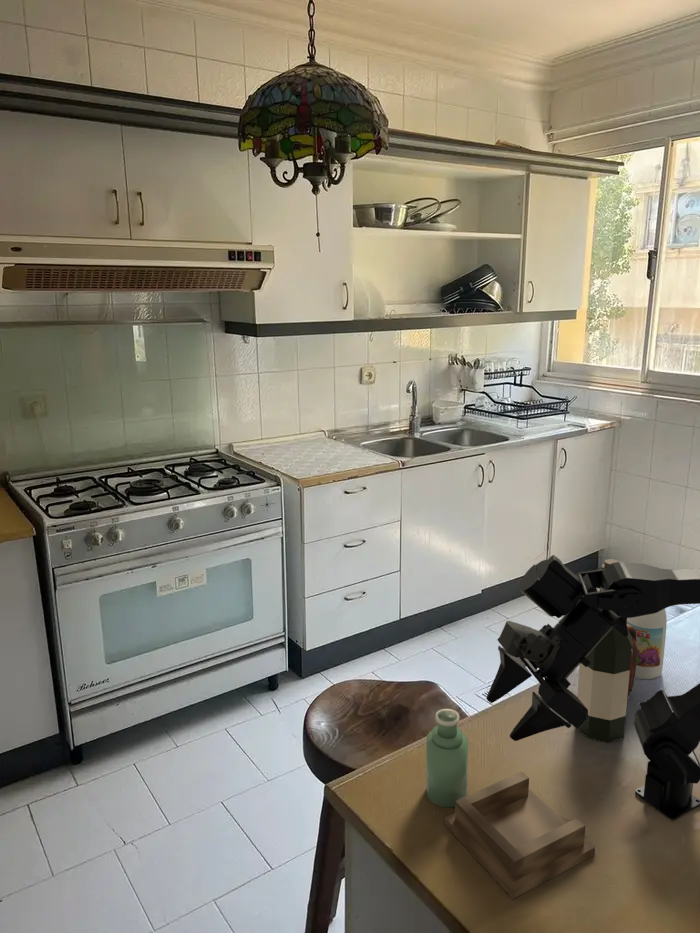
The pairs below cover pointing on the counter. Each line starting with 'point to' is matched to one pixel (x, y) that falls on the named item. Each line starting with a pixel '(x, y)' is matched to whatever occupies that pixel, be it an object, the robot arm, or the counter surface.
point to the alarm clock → (632, 658)
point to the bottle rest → (517, 835)
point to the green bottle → (446, 760)
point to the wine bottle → (606, 685)
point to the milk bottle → (649, 643)
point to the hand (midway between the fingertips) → (499, 719)
